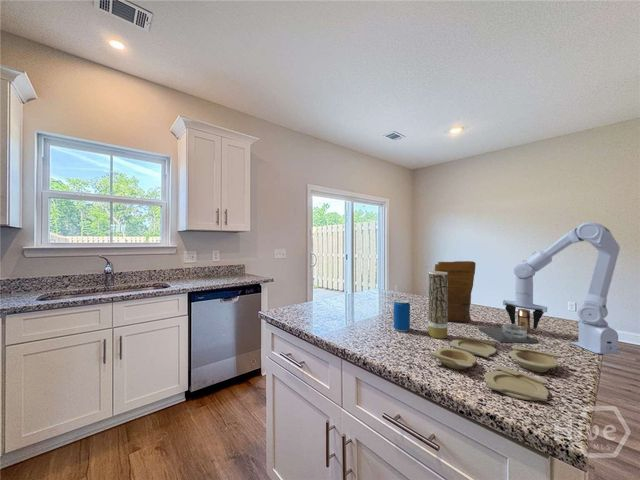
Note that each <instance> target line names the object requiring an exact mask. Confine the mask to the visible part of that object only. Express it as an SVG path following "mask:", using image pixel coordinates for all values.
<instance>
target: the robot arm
mask: <svg viewBox="0 0 640 480" xmlns="http://www.w3.org/2000/svg"><path fill="white" fill-rule="evenodd" d="M583 242H588V243H589V244H591V246H593V248H595V249H596V250H597V251H598V252H597V256H596V260H595V263H594V267H593V270H592V271H593V272H592V275H591V279H590V283H589V287H588V290H587V293H586V296H585V298H584V301H583V304H582V305H581V306H579V308H578V309H577V316H578V327H577V328H578V329H577V331H578V338H577V339H578V340H577V341H571V344H573V345H575V346H577V347H580V348H582V349H585V350H587V351H590V352H592V353H595V354H598V355H621V354H622V353H621V352H620V351H619V334H618V331H617V330H615V329H613V328H611V327H610V326H609V323H608V322H607V320H606V319H605V318H606V317H607V316H608V314H609V312H608V308H607V301H608V299H607V298H608V294H609V291H610V287H611V283H612V280H613V276H614V272H615V268H616V265H617V260H618V257H619V253H620V250H621V247H620V244H619V243H618V242H617V240H616V238H615V237H614V236H613V234H612V231H611V230H610V229H609V228H608V227H606V226H604V225H603V224H601V223H598V222H593V221H586V222H584V223H581V224H580V225H578V227H575V228H573V229H571V230H570V231H568V232H567V233H565V234H564V235H562V236H561V237H560V238H559V239H558V240H556V241H555V242H554V243H552V244H551V245H550V246H548V247H547V248H546V249H545V250H538V251H533V252H532V253H531V255H530V257H528V258H527V259H526V260H525V259H523V260H522V261H521V262H522V263H518V264H516V265H515V267H514V268H513V274H514V275H515V301H514V300H505V299H504V300H502V305H503V306H505V308H504V309H505V310H506V312H507V313H508V316H509V320H510V323H511V325H516V310H517V309H516V308H518V309H527V310H530V311H531V310H532V316H533V317H532V318H533V325H532V326H533V327H532V329H534V330H537V329H538V325H539V322H540V320H541V318H542V316H543V315H544V313H548V306H543V305H540V304H539V305H538V304H534V276H535V275H536V272H539V271H541V270H542V269H544V268H545V267H546V266H547V265H549V264H551V263H552V262H553V257H554V256H556V255H557V254H559V253H561V252H562V251H563V250H564V249H566V248H568V247H569V246H571V245H572V244H576V243H583Z"/></svg>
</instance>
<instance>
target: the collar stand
mask: <svg viewBox="0 0 640 480" xmlns="http://www.w3.org/2000/svg"><path fill="white" fill-rule="evenodd" d="M518 329H520V330H518ZM477 330H478V331H479V332H481V333H483V334H485V335H487V336H488V337H490V338H492V339H494V340H495V341H496V342H498V343H500V344H501V343H502V344H503V343H508V344H509V343H510V344H511V343H512V344H513V343H514V344H515V343H517V344H526V343H527V344H536V343H537V340H536V339H535V338H533V337H531V336H528V335H527V329H526V328H524V327H521V326H518V324H509V323H505V324H502V326H501V327H487V326H485V327H484V326H483V327H481V326H479V327H478V329H477Z"/></svg>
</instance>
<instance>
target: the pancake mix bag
mask: <svg viewBox="0 0 640 480" xmlns="http://www.w3.org/2000/svg"><path fill="white" fill-rule="evenodd" d="M476 266H477V265H476V261H473V260H472V261H471V260H470V261H469V260H467V261H466V260H464V261H462V260H457V261H437V263H435V265H434V269H433V271H440V272H447V273H448V317H447V323H450V322H451V323H452V322H453V323H469V322H471V321H472V318H471V312H470V309H471V303H472V291H473V287H474V279H475V273H476Z"/></svg>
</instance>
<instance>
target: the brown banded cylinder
mask: <svg viewBox="0 0 640 480" xmlns="http://www.w3.org/2000/svg"><path fill="white" fill-rule="evenodd" d="M517 326H521V327H524V328H526V329H527V334H531V310H530V309H525V308H517ZM518 330H520V329H518Z"/></svg>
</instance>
